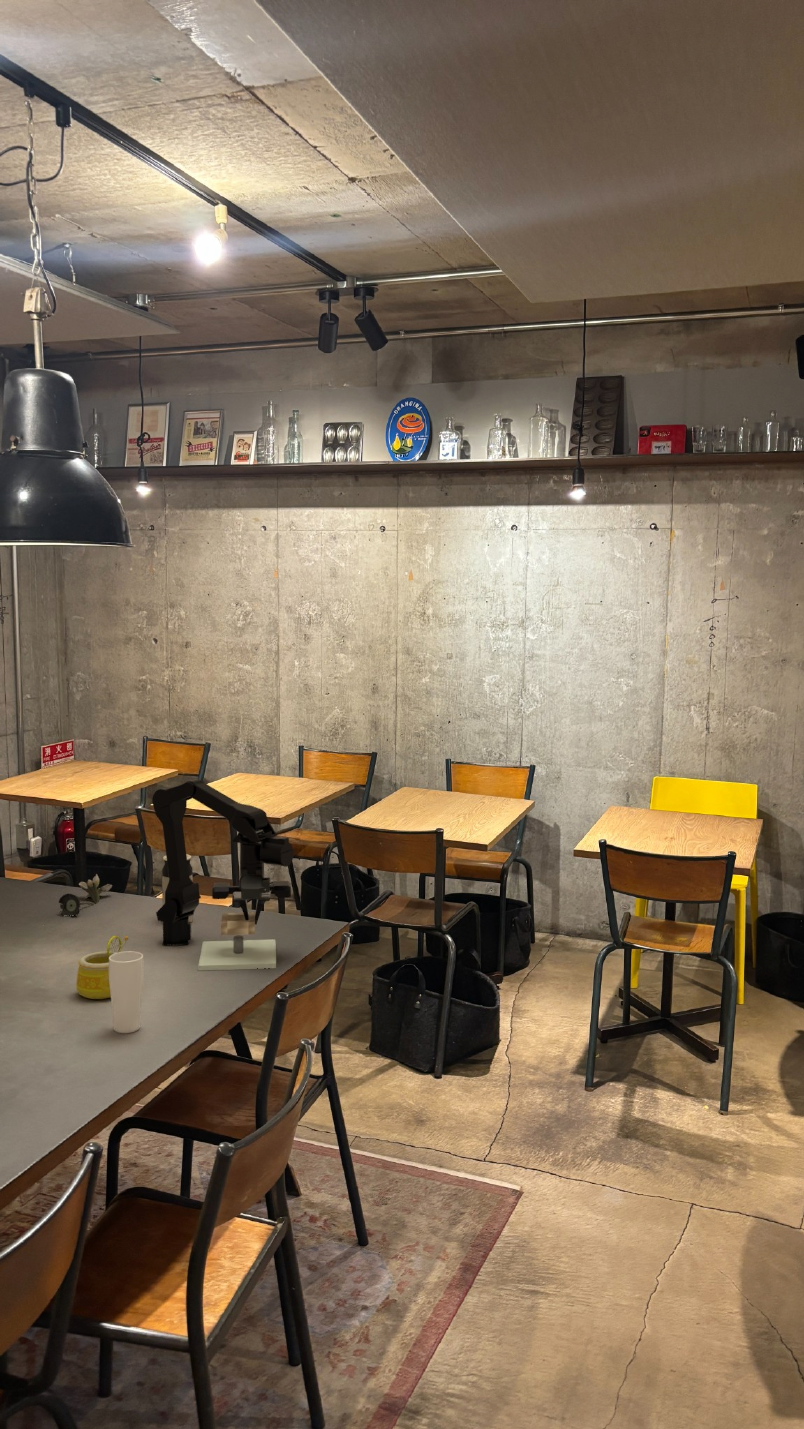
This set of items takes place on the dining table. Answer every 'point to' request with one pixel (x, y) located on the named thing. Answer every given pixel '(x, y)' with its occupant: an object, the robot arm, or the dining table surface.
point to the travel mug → (166, 879)
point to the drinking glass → (126, 990)
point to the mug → (96, 972)
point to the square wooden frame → (237, 924)
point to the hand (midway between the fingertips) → (251, 924)
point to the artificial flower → (73, 903)
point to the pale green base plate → (237, 954)
